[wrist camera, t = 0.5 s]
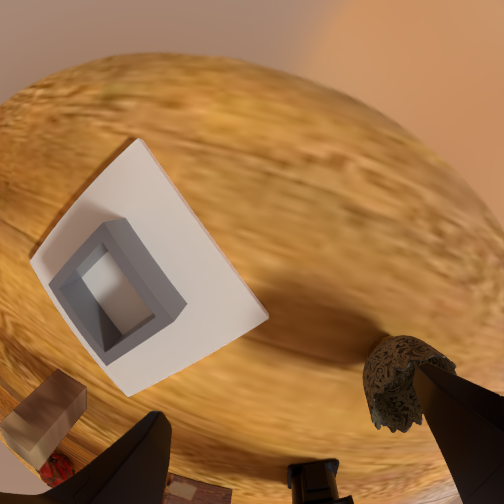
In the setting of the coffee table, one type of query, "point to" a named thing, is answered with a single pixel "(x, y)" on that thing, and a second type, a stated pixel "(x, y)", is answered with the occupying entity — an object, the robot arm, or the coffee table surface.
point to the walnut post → (44, 418)
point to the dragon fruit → (55, 470)
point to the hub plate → (142, 276)
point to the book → (194, 492)
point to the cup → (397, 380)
